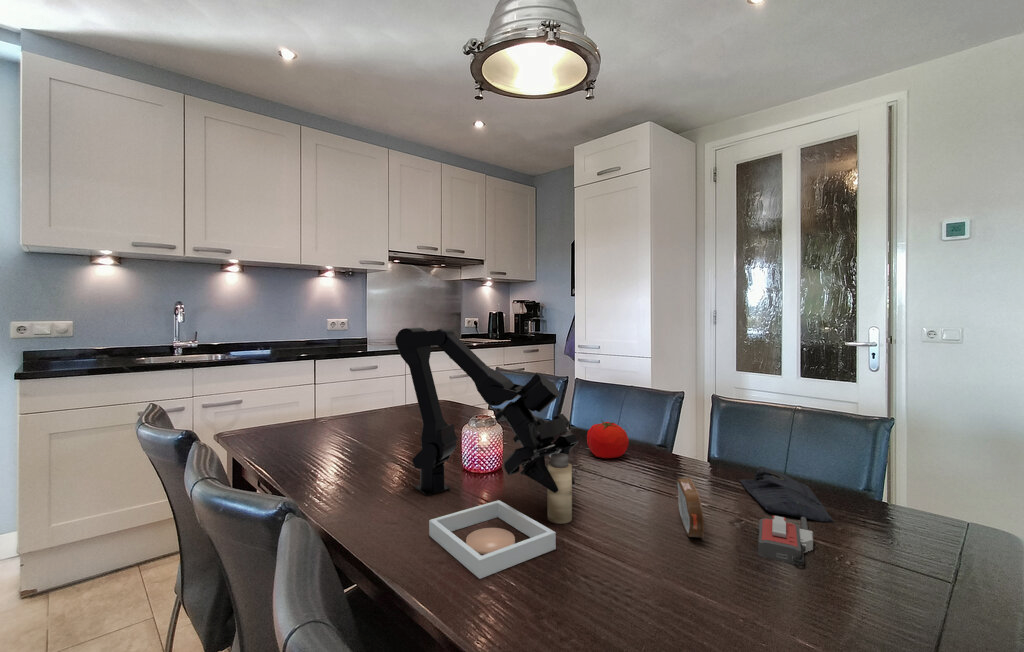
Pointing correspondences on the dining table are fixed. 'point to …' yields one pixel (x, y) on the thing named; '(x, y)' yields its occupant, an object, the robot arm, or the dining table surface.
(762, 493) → the dark folded cloth
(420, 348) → the robot arm
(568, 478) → the pepper mill
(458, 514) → the white square frame
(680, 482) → the tin
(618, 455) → the tomato
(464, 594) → the dining table surface
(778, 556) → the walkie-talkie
